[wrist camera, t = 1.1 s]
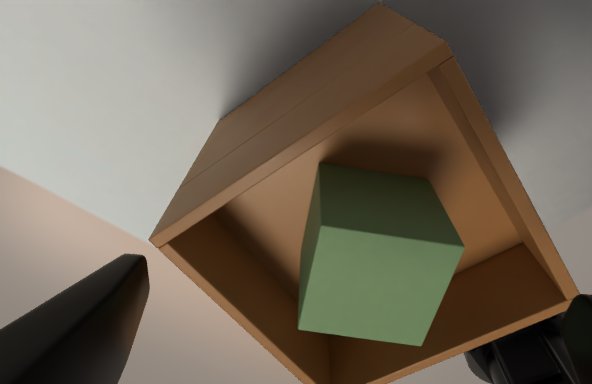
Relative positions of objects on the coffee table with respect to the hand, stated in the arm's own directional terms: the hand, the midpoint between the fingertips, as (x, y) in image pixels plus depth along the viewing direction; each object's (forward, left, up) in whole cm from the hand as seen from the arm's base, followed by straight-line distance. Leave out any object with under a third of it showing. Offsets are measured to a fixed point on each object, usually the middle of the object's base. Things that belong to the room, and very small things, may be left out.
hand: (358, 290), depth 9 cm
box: (-2, +1, -13) cm, 13 cm away
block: (-2, +1, -6) cm, 6 cm away
